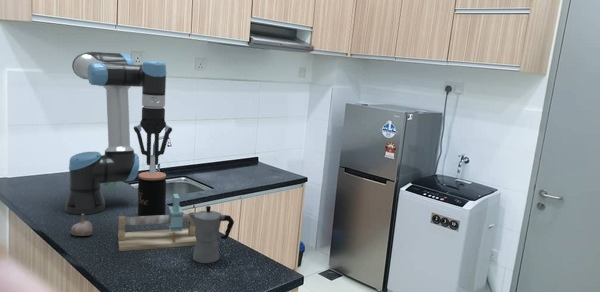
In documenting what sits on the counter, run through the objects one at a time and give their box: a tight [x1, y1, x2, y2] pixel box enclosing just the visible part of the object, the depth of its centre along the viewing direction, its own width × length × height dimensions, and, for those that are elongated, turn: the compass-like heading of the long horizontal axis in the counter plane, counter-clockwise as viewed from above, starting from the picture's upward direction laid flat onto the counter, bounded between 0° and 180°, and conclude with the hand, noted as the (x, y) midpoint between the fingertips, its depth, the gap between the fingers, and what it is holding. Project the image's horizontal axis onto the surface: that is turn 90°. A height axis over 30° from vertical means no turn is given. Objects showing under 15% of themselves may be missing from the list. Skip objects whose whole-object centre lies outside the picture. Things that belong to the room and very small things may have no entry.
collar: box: [167, 193, 184, 232], centre depth 168 cm, size 7×4×12 cm, turn 22°
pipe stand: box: [117, 211, 197, 252], centre depth 167 cm, size 13×26×10 cm, turn 112°
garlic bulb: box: [70, 214, 94, 237], centre depth 168 cm, size 8×7×8 cm
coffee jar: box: [137, 171, 167, 216], centre depth 189 cm, size 11×11×18 cm
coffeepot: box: [188, 205, 235, 264], centre depth 156 cm, size 15×9×18 cm, turn 82°
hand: (152, 173), depth 165 cm, fingers closed
